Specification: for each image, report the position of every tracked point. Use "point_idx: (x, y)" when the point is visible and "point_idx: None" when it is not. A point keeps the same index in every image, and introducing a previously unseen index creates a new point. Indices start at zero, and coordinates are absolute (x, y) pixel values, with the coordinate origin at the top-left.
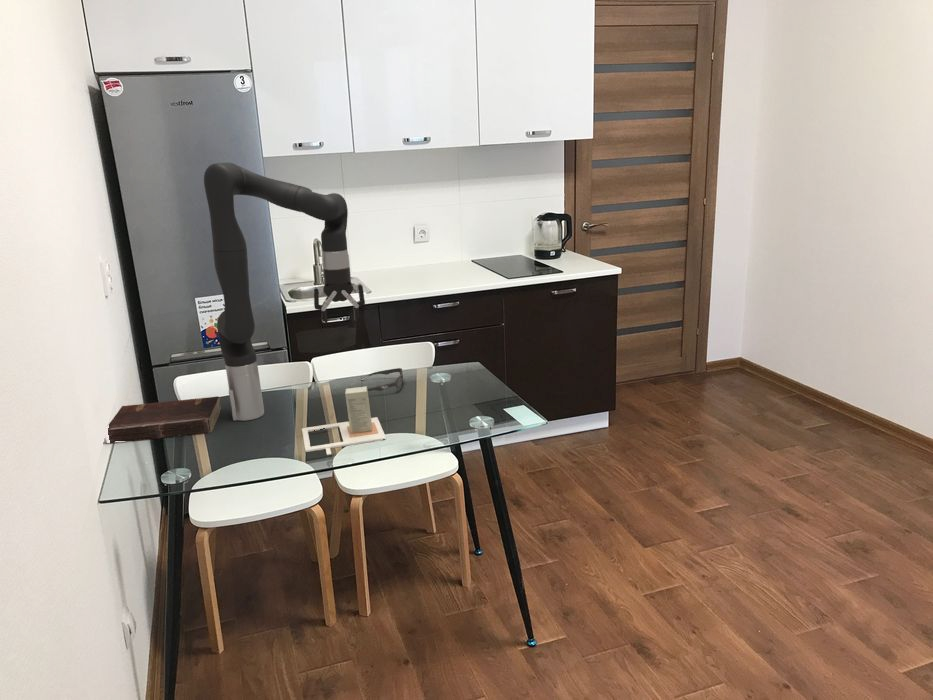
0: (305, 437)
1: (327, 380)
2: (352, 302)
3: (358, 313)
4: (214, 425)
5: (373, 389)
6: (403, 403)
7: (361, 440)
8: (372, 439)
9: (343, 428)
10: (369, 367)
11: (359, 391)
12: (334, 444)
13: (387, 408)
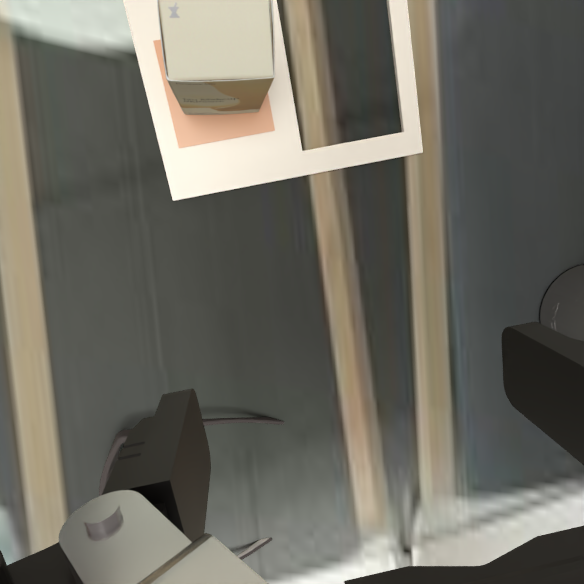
0: (407, 65)
1: (366, 554)
2: (169, 564)
3: (128, 457)
4: None
5: (203, 419)
6: (92, 326)
7: None
8: None
9: (284, 119)
10: None
11: (197, 1)
12: None
13: (146, 290)
